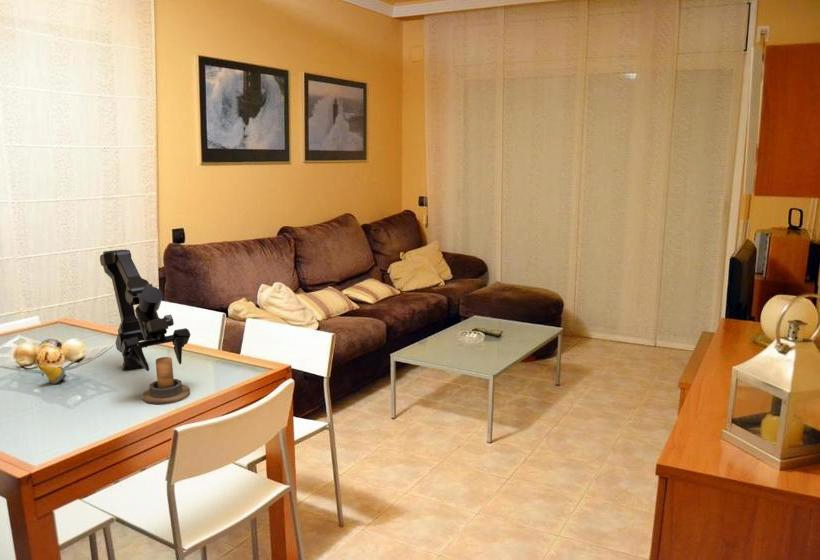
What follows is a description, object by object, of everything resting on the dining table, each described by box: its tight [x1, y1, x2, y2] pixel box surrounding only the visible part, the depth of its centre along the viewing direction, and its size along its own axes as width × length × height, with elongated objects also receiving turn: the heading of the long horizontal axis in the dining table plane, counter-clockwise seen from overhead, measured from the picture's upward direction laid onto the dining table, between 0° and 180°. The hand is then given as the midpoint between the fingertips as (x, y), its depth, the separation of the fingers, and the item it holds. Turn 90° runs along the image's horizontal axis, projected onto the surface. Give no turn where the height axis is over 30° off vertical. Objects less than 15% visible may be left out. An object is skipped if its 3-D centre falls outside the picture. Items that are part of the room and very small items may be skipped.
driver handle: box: [155, 356, 175, 389], centre depth 196 cm, size 4×4×10 cm
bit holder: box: [141, 378, 191, 405], centre depth 197 cm, size 13×13×4 cm
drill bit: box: [37, 364, 68, 385], centre depth 206 cm, size 5×5×10 cm
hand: (164, 366), depth 195 cm, fingers open, 9 cm apart
